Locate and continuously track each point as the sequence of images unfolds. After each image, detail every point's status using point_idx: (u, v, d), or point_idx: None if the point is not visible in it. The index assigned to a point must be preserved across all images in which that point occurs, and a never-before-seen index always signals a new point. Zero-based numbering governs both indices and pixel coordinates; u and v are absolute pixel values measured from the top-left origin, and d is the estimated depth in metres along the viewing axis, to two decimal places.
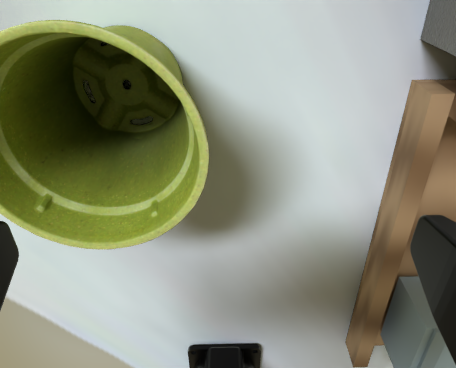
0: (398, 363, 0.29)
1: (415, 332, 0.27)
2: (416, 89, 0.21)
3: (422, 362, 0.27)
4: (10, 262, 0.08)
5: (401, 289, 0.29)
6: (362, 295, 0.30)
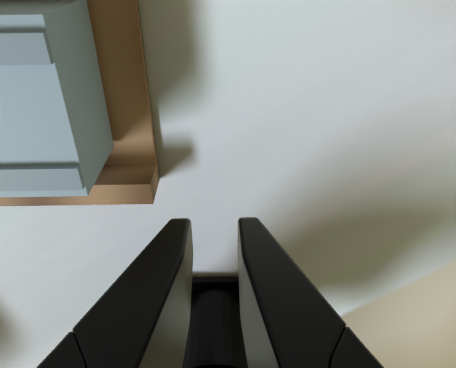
0: None
1: None
2: None
3: None
4: (192, 259, 0.08)
5: None
6: None
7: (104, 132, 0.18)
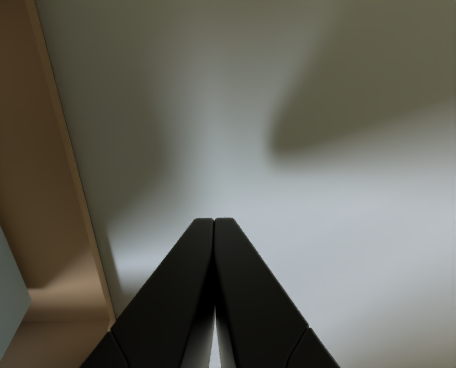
0: None
1: None
2: None
3: None
4: None
5: None
6: None
7: (0, 301, 0.10)
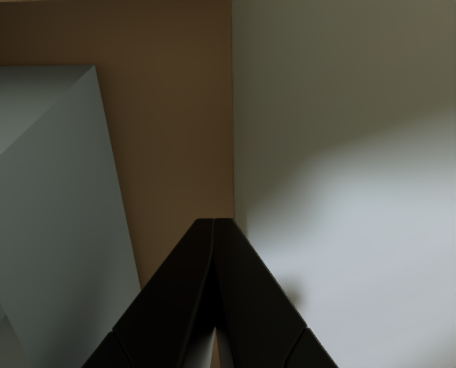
0: None
1: None
2: None
3: None
4: None
5: None
6: None
7: None
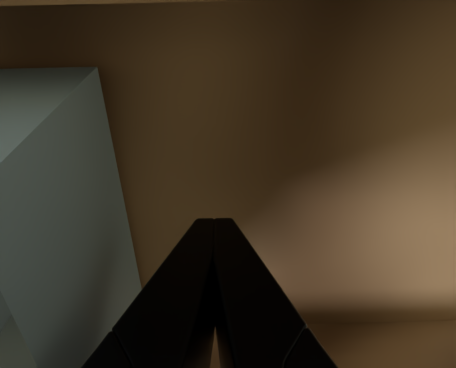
0: None
1: None
2: None
3: None
4: None
5: None
6: None
7: None
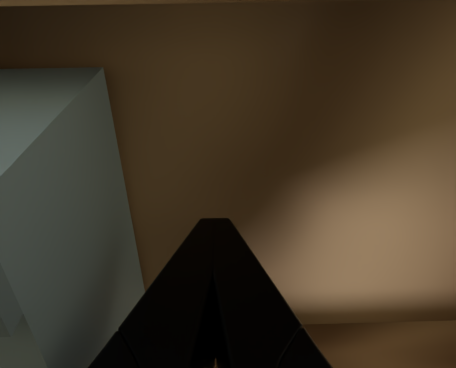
0: None
1: None
2: None
3: None
4: None
5: None
6: None
7: None
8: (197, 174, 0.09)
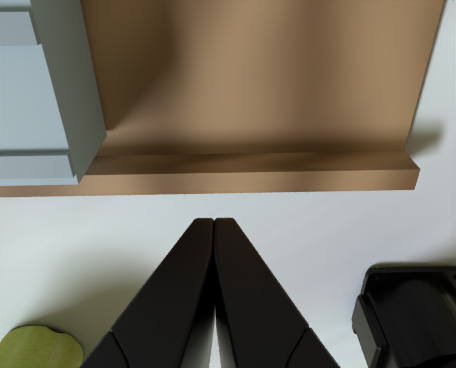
0: None
1: None
2: None
3: None
4: None
5: None
6: None
7: (96, 121, 0.18)
8: (127, 44, 0.17)
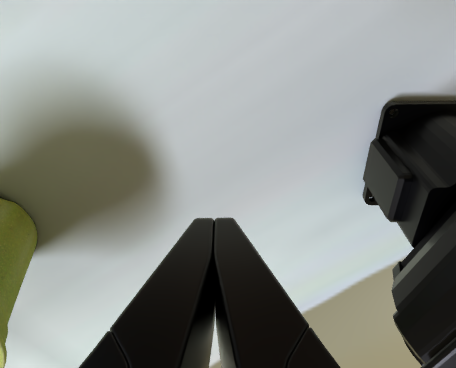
0: None
1: None
2: None
3: None
4: None
5: None
6: None
7: None
8: None
